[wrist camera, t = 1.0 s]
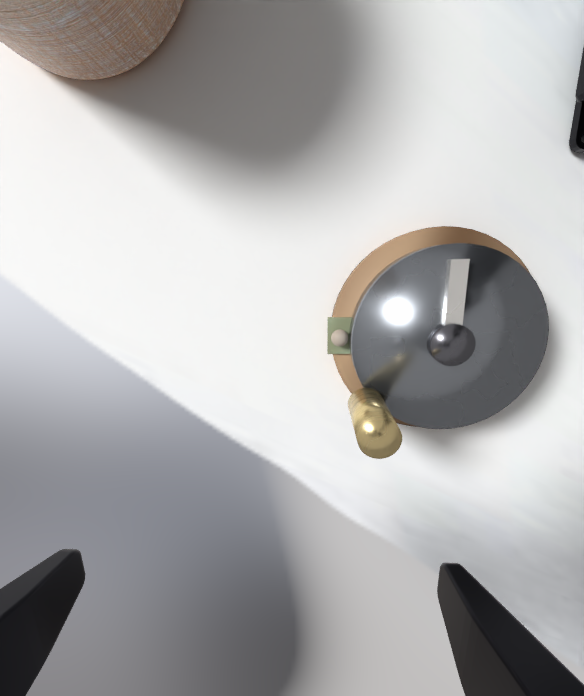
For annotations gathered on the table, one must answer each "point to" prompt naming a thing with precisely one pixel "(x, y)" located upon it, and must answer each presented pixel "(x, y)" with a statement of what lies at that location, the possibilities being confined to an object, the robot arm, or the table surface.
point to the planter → (86, 33)
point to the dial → (443, 342)
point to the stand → (372, 267)
